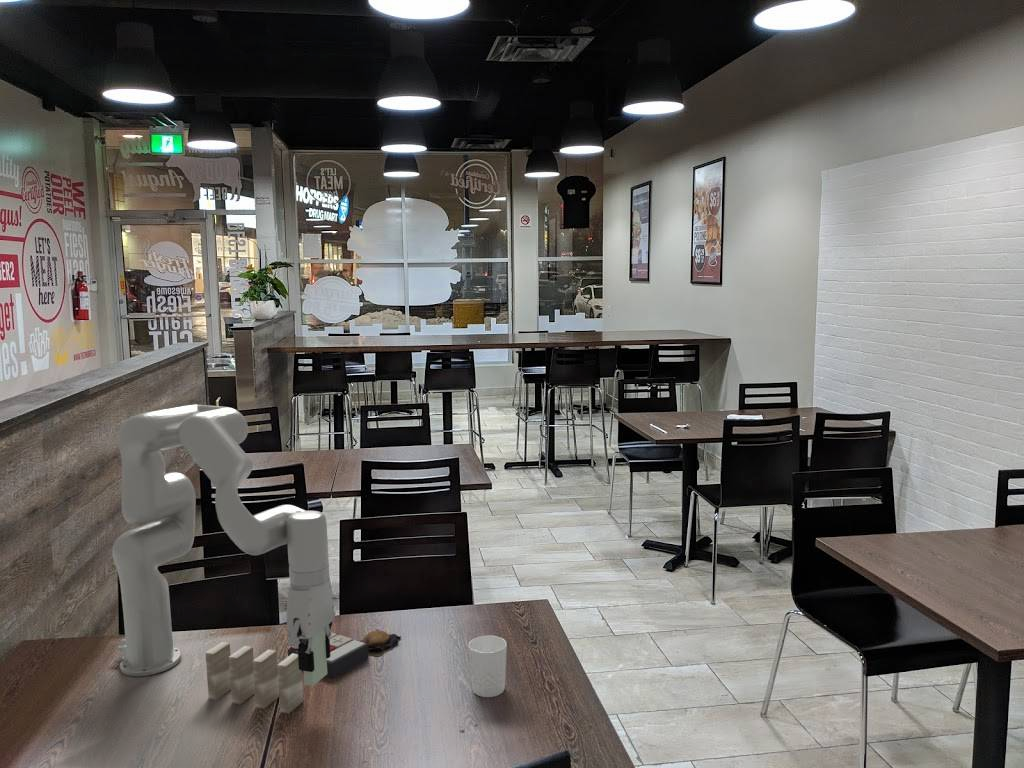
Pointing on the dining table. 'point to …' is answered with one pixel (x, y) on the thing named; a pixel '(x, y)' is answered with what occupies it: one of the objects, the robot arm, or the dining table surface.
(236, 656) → the domino
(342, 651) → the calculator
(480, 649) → the white cup
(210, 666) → the domino
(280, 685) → the domino
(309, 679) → the domino
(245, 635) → the dining table surface
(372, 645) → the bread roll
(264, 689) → the domino
